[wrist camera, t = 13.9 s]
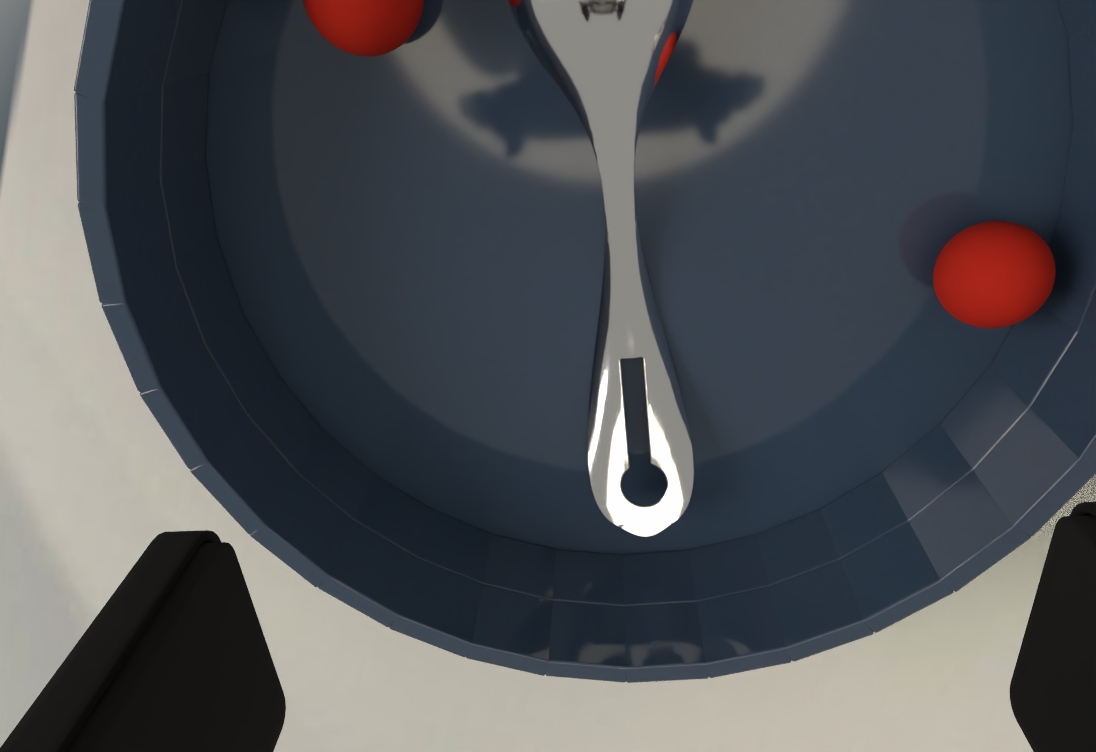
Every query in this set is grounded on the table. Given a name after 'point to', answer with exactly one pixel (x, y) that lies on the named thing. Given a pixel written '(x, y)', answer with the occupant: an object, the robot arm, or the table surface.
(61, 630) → the table surface
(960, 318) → the tomato
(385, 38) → the tomato
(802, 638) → the bowl
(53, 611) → the table surface
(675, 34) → the metal spoon
